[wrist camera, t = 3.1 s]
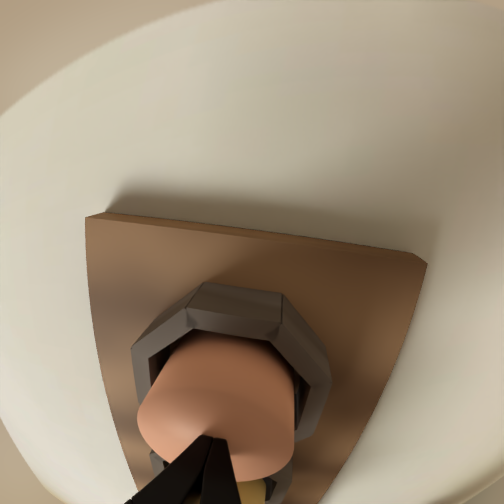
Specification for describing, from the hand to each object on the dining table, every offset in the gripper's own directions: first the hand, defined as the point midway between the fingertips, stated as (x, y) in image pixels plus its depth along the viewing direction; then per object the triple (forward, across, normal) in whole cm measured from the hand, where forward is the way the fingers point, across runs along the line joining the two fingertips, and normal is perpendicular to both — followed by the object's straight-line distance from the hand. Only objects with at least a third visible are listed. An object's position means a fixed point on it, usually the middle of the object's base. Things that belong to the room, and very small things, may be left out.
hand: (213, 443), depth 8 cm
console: (+6, 0, +7) cm, 9 cm away
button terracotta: (+4, 0, 0) cm, 4 cm away
